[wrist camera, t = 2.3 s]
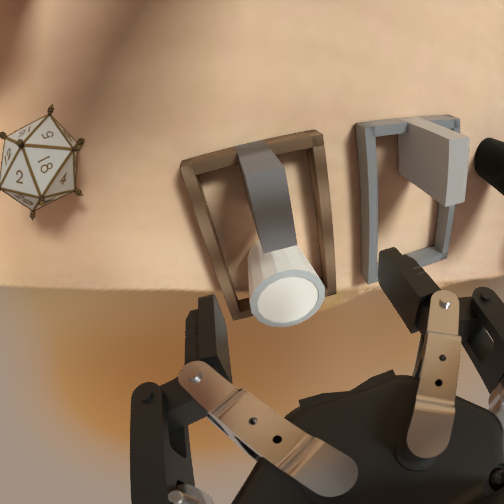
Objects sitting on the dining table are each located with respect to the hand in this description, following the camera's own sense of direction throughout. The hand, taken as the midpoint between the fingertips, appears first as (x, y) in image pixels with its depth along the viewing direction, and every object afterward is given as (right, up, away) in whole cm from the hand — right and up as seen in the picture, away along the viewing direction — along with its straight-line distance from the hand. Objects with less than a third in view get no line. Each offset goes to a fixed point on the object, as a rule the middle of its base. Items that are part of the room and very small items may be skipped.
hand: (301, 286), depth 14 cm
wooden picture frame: (-1, +4, +16) cm, 17 cm away
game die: (-20, +11, +9) cm, 25 cm away
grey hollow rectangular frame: (+15, +8, +16) cm, 23 cm away
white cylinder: (0, +1, +19) cm, 19 cm away
